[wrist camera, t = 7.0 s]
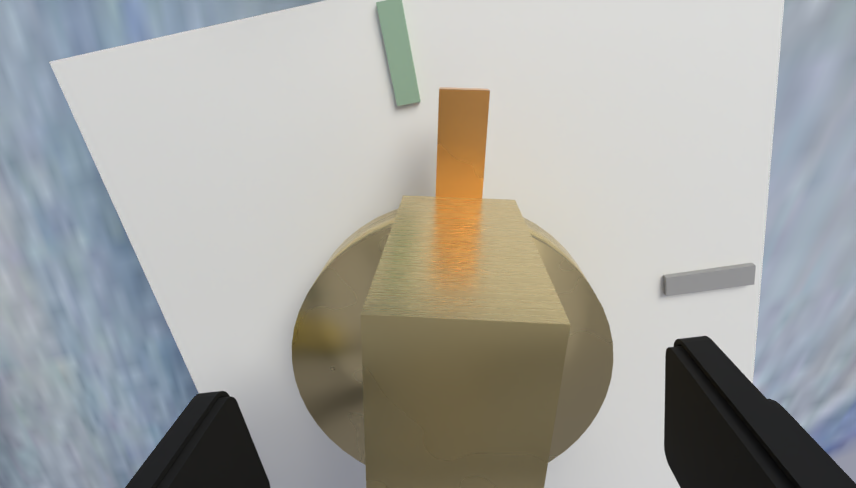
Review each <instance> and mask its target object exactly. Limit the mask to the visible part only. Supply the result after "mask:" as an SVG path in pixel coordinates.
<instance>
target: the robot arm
mask: <svg viewBox="0 0 856 488" xmlns="http://www.w3.org/2000/svg"><path fill="white" fill-rule="evenodd" d="M664 451H665V456H666V459H667V462H668V465H669V467H670V469H671V471H672V473H673V474H674V476H675V478H676V480H677V482H678V484H679V486H680V488H856V484H855V483H854V481H852V479H851V478H850V477H849V476H848V475H847V474H846V473H845V472H844V471H843V470H842V469H841V468H840V467H839V466H838V465H837V464H836V462H835V461H834V460H833V459H832V458H831V457H830V456H829V455H828V454H827V453H826V452H825V451H824V450H823V449H822V448H821V447H820V446H819V445H818V444H817V442H816V441H815V440H814V439H813V438H812V437H811V436H810V435H809V434H808V433H807V432H806V431H805V430H804V429H803V428H802V427H801V426H800V425H799V423H798V422H797V421H796V420H795V419H794V418H793V417H792V416H791V415H790V414H789V413H788V412H787V411H786V410H785V409H784V408H783V407H782V406H781V405H780V404H779V403H777V402H776V401H774V400H771V399H766V398H765V397H764V396H763V394H762V393H761V392H760V391H759V390H758V389H757V388H756V387H755V386H754V385H753V384H752V383H751V381H750V380H749V379H748V378H747V377H746V376H745V375H744V374H743V373H742V372H741V371H740V370H739V368H738V367H737V366H736V365H735V364H734V363H733V362H732V361H731V360H730V359H729V358H728V357H727V355H726V354H725V353H724V352H723V351H722V350H721V349H720V348H719V347H718V346H717V345H716V344H715V342H714V341H713V340H712V339H711V338H709V337H708V336H699V337H690V338H681V339H677V340H675V342H674V347H668V348H667V349H666V356H665V417H664ZM125 488H270V483H269V480H268V477H267V475H266V472H265V470H264V467H263V465H262V462H261V460H260V457H259V455H258V452H257V450H256V447H255V445H254V442H253V440H252V438H251V435H250V433H249V430H248V428H247V425H246V423H245V420H244V418H243V415H242V413H241V410H240V408H239V405H238V403H237V400H236V399H235V398H234V397H230V396H229V394H228V393H227V392H226V391H216V392H207V393H200V394H197V395H196V396H195V397H194V398H193V399H192V400H191V402H190V403H189V404H188V406H187V407H186V408H185V410H184V411H183V412H182V414H181V415H180V416H179V417H178V419H177V420H176V421H175V423H174V424H173V425H172V427H171V428H170V429H169V431H168V432H167V433H166V435H165V436H164V437H163V439H162V440H161V441H160V442H159V444H158V445H157V446H156V448H155V449H154V450H153V452H152V453H151V454H150V456H149V457H148V458H147V460H146V461H145V462H144V463H143V465H142V466H141V467H140V469H139V470H138V471H137V473H136V474H135V475H134V477H133V478H132V479H131V481H130V482H129V483H128V484H127V486H126V487H125Z"/></svg>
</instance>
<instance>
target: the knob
mask: <svg viewBox="0 0 856 488" xmlns="http://www.w3.org/2000/svg"><path fill="white" fill-rule="evenodd" d="M489 98H490V90H489V89H484V88H451V87H440V88H439V108H438V138H437V168H436V197H431V196H405V195H403V197H402V200H401V203H400V205H399V208H398V209H395V210H393V211H391V212H389V213H386V214H384V215H382V216H379V217H377V218H375V219H374V220H372V221H370V222H369V223H367V224H365V225H364V226H362V227H361V228H359V229H358V230H357V231H356V232H354V233H353V234H352V235H351V236H349V237H348V238H347V239H346V240H345V241H344V242H343V243H342V244H341V245H340V246H339V247H338V248H337V249H336V251H335V252H334V253H333V254H332V256H331V257H330V259H329V260H328V261H327V263H326V264H325V266H324V267H323V269H322V271H321V272H320V274H319V275H318V277H317V279H316V280H315V282H314V284H313V285H312V287H311V288H310V290H309V292H308V293H307V295H306V297H305V300H304V302H303V304H302V306H301V308H300V310H299V313H298V316H297V320H296V323H295V326H294V332H293V339H292V365H293V371H294V376H295V381H296V384H297V387H298V390H299V393H300V396H301V398H302V400H303V402H304V404H305V406H306V408H307V410H308V412H309V413H310V414H311V416H312V417H313V419H314V420H315V422H316V423H317V425H318V426H319V427H320V428H321V429H322V431H323V432H324V433H325V434H326V435H327V436H328V437H329V438H330V439H331V440H332V441H333V442H334V443H335V444H336V445H337V446H339V447H340V448H341V449H342V450H343V451H345V452H346V453H347V454H349V455H350V456H352V457H353V458H355V459H356V460H357V461H359V462H361V463H363V464H365V466H366V488H544V485H545V479H546V472H547V466H548V463H549V462H550V461H552V460H553V459H555V458H556V457H557V456H559V455H560V454H562V453H563V452H565V451H566V450H567V449H568V448H569V447H570V446H571V445H572V444H574V443H575V442H576V441H577V440H578V439H579V438H580V437H581V435H582V434H583V433H584V432H585V431H586V430H587V428H588V427H589V426H590V425H591V423H592V421H593V420H594V418H595V417H596V415H597V414H598V412H599V410H600V408H601V406H602V404H603V402H604V400H605V398H606V395H607V392H608V388H609V385H610V381H611V377H612V369H613V362H614V361H613V341H612V336H611V331H610V326H609V323H608V320H607V317H606V315H605V312H604V309H603V307H602V305H601V303H600V301H599V300H598V298H597V296H596V294H595V292H594V291H593V289H592V287H591V286H590V284H589V282H588V281H587V279H586V278H585V276H584V274H583V273H582V271H581V269H580V268H579V266H578V264H577V263H576V262H575V260H574V259H573V258H572V256H571V255H570V254H569V253H568V251H567V250H566V249H565V248H564V247H563V246H562V245H561V244H560V243H559V242H558V241H557V240H556V239H555V238H554V237H553V236H552V235H550V234H549V233H548V232H546V231H545V230H544V229H542V228H541V227H539V226H538V225H537V224H535V223H533V222H531V221H529V220H528V219H526V218H524V217H523V216H522V214H521V212H520V210H519V207H518V205H517V203H516V201H515V200H509V199H483V198H482V195H483V181H484V167H485V153H486V139H487V125H488V111H489Z"/></svg>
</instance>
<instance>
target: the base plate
mask: <svg viewBox="0 0 856 488" xmlns="http://www.w3.org/2000/svg"><path fill="white" fill-rule="evenodd" d="M783 8H784V0H325V1H321V2H316V3H312V4H307V5H303V6H298V7H294V8H289V9H285V10H280V11H276V12H271V13H267V14H262V15H258V16H253V17H249V18H244V19H240V20H235V21H231V22H226V23H222V24H217V25H213V26H208V27H204V28H199V29H195V30H190V31H186V32H181V33H177V34H172V35H168V36H163V37H159V38H154V39H150V40H145V41H141V42H136V43H132V44H127V45H123V46H118V47H114V48H109V49H105V50H100V51H96V52H91V53H87V54H82V55H78V56H73V57H69V58H64V59H60V60H55V61H51V62H50V65H51V67H52V69H53V71H54V73H55V76H56V78H57V80H58V82H59V85H60V87H61V89H62V91H63V93H64V96H65V98H66V100H67V102H68V105H69V107H70V109H71V111H72V113H73V116H74V118H75V120H76V122H77V124H78V127H79V129H80V131H81V133H82V136H83V138H84V140H85V142H86V144H87V147H88V149H89V151H90V153H91V155H92V158H93V160H94V162H95V164H96V167H97V169H98V171H99V173H100V175H101V178H102V180H103V182H104V184H105V186H106V189H107V191H108V193H109V195H110V198H111V200H112V202H113V204H114V206H115V209H116V211H117V213H118V215H119V217H120V220H121V222H122V224H123V226H124V229H125V231H126V233H127V235H128V237H129V240H130V242H131V244H132V246H133V248H134V251H135V253H136V255H137V257H138V260H139V262H140V264H141V266H142V268H143V271H144V273H145V275H146V277H147V279H148V282H149V284H150V286H151V288H152V291H153V293H154V295H155V297H156V299H157V302H158V304H159V306H160V308H161V310H162V313H163V315H164V317H165V319H166V322H167V324H168V326H169V328H170V330H171V333H172V335H173V337H174V339H175V341H176V344H177V346H178V348H179V350H180V353H181V355H182V357H183V359H184V361H185V364H186V366H187V368H188V370H189V372H190V375H191V377H192V379H193V381H194V384H195V386H196V388H197V390H198V392H199V394H200V393H207V392H216V391H226V392H227V393H228V394H229V396H230V397H234V398H235V399H236V400H237V403H238V405H239V408H240V410H241V413H242V415H243V418H244V420H245V423H246V425H247V428H248V430H249V433H250V435H251V438H252V440H253V442H254V445H255V447H256V450H257V452H258V455H259V457H260V460H261V462H262V465H263V467H264V470H265V472H266V475H267V477H268V480H269V483H270V488H366V466H365V464H363V463H361V462H359V461H357V460H356V459H355V458H353V457H352V456H350V455H349V454H347V453H346V452H345V451H343V450H342V449H341V448H340V447H339V446H337V445H336V444H335V443H334V442H333V441H332V440H331V439H330V438H329V437H328V436H327V435H326V434H325V433H324V432H323V431H322V429H321V428H320V427H319V426H318V425H317V423H316V422H315V420H314V419H313V417H312V416H311V414H310V413H309V412H308V410H307V408H306V406H305V404H304V402H303V400H302V398H301V396H300V393H299V390H298V387H297V384H296V381H295V376H294V371H293V365H292V339H293V332H294V326H295V323H296V320H297V316H298V313H299V310H300V308H301V306H302V304H303V302H304V300H305V297H306V295H307V293H308V292H309V290H310V288H311V287H312V285H313V284H314V282H315V280H316V279H317V277H318V275H319V274H320V272H321V271H322V269H323V267H324V266H325V264H326V263H327V261H328V260H329V259H330V257H331V256H332V254H333V253H334V252H335V251H336V249H337V248H338V247H339V246H340V245H341V244H342V243H343V242H344V241H345V240H346V239H347V238H348V237H349V236H351V235H352V234H353V233H354V232H356V231H357V230H358V229H359V228H361V227H362V226H364V225H365V224H367V223H369V222H370V221H372V220H374V219H375V218H377V217H379V216H382V215H384V214H386V213H389V212H391V211H393V210H395V209H398V208H399V205H400V203H401V200H402V197H403V195H405V196H431V197H436V168H437V138H438V108H439V88H440V87H451V88H484V89H489V90H490V98H489V111H488V125H487V139H486V153H485V167H484V181H483V195H482V198H483V199H509V200H515V201H516V203H517V205H518V207H519V210H520V212H521V214H522V216H523V217H524V218H526V219H528V220H529V221H531V222H533V223H535V224H537V225H538V226H539V227H541V228H542V229H544V230H545V231H546V232H548V233H549V234H550V235H552V236H553V237H554V238H555V239H556V240H557V241H558V242H559V243H560V244H561V245H562V246H563V247H564V248H565V249H566V250H567V251H568V253H569V254H570V255H571V256H572V258H573V259H574V260H575V262H576V263H577V264H578V266H579V268H580V269H581V271H582V273H583V274H584V276H585V278H586V279H587V281H588V282H589V284H590V286H591V287H592V289H593V291H594V292H595V294H596V296H597V298H598V300H599V301H600V303H601V305H602V307H603V309H604V312H605V315H606V317H607V320H608V323H609V326H610V331H611V336H612V341H613V361H614V362H613V369H612V377H611V381H610V385H609V388H608V392H607V395H606V398H605V400H604V402H603V404H602V406H601V408H600V410H599V412H598V414H597V415H596V417H595V418H594V420H593V421H592V423H591V425H590V426H589V427H588V428H587V430H586V431H585V432H584V433H583V434H582V435H581V437H580V438H579V439H578V440H577V441H576V442H575V443H574V444H572V445H571V446H570V447H569V448H568V449H567V450H566V451H565V452H563V453H562V454H560V455H559V456H557V457H556V458H555V459H553V460H552V461H550V462H549V463H548V466H547V472H546V479H545V485H544V488H680V486H679V484H678V482H677V480H676V478H675V476H674V474H673V473H672V471H671V469H670V467H669V465H668V462H667V459H666V456H665V451H664V417H665V356H666V349H667V348H668V347H674V342H675V340H677V339H681V338H690V337H699V336H708V337H709V338H711V339H712V340H713V341H714V342H715V344H716V345H717V346H718V347H719V348H720V349H721V350H722V351H723V352H724V353H725V354H726V355H727V357H728V358H729V359H730V360H731V361H732V362H733V363H734V364H735V365H736V366H737V367H738V368H739V370H740V371H741V372H742V373H743V374H744V375H745V376H746V377H747V378H748V379H749V380H750V381H751V383H752V384H753V373H754V361H755V349H756V337H757V325H758V313H759V300H760V288H761V276H762V264H763V252H764V239H765V227H766V215H767V203H768V191H769V179H770V166H771V154H772V142H773V130H774V118H775V106H776V93H777V81H778V69H779V57H780V45H781V33H782V20H783Z"/></svg>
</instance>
